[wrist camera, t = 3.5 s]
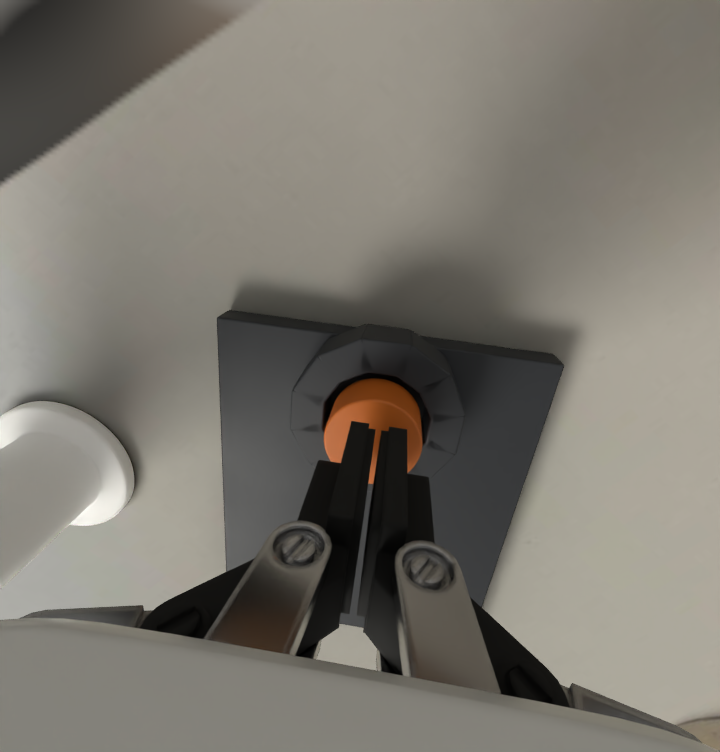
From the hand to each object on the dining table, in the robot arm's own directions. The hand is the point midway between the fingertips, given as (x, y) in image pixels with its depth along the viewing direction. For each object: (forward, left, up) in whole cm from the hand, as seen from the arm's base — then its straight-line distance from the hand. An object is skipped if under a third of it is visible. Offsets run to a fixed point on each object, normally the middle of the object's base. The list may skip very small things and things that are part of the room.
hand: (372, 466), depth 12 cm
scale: (+5, 0, -5) cm, 8 cm away
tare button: (0, 0, -3) cm, 3 cm away
